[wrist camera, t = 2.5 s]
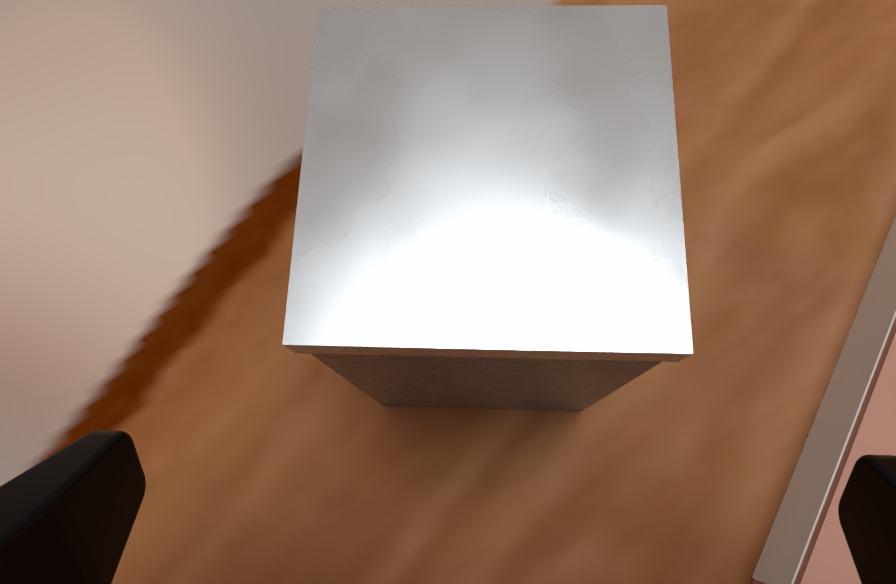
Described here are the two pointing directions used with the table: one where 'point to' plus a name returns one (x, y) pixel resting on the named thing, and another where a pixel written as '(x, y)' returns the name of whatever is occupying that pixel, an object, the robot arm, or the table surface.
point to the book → (839, 443)
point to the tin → (490, 205)
